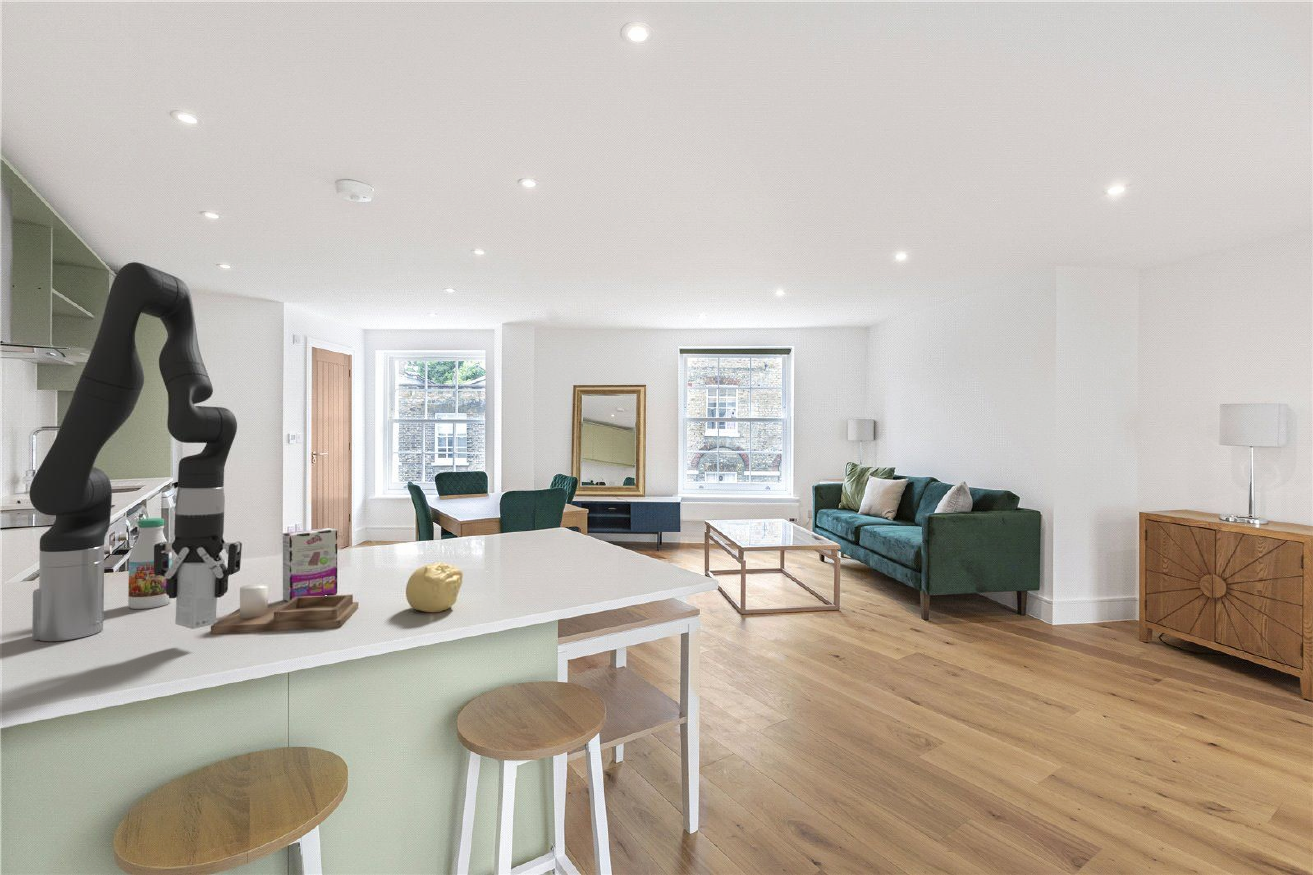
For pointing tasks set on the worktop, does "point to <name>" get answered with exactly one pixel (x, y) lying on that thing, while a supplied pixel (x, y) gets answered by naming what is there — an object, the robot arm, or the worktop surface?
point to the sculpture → (434, 587)
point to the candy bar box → (309, 563)
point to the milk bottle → (147, 568)
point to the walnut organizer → (285, 612)
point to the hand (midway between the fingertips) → (196, 596)
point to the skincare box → (195, 596)
